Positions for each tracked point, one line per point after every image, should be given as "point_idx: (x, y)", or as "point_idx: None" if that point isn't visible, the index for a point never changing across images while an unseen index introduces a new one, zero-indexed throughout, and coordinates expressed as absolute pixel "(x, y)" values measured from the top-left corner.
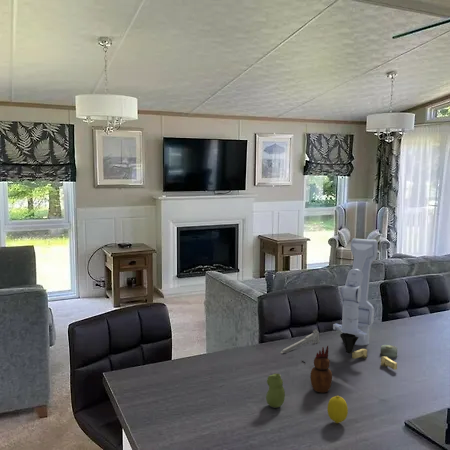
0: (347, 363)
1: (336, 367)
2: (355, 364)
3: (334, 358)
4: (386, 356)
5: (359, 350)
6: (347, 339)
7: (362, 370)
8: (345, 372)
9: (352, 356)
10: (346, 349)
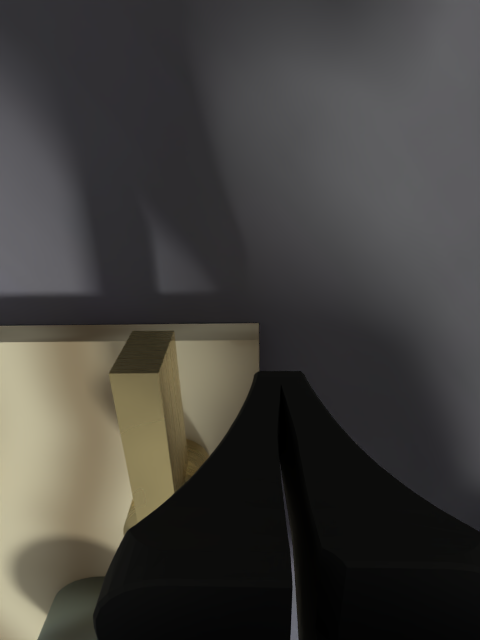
0: (227, 276)
1: (217, 56)
2: (163, 323)
3: (413, 263)
4: (81, 589)
5: (154, 482)
6: (228, 516)
7: (11, 264)
8: (38, 31)
9: (162, 340)
10: (288, 391)
